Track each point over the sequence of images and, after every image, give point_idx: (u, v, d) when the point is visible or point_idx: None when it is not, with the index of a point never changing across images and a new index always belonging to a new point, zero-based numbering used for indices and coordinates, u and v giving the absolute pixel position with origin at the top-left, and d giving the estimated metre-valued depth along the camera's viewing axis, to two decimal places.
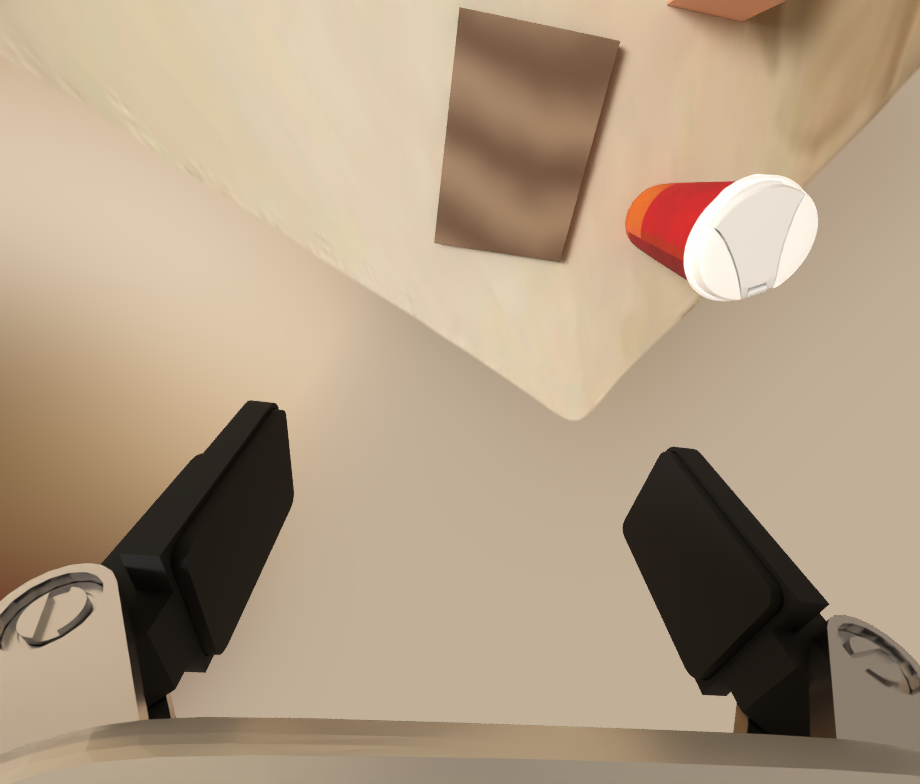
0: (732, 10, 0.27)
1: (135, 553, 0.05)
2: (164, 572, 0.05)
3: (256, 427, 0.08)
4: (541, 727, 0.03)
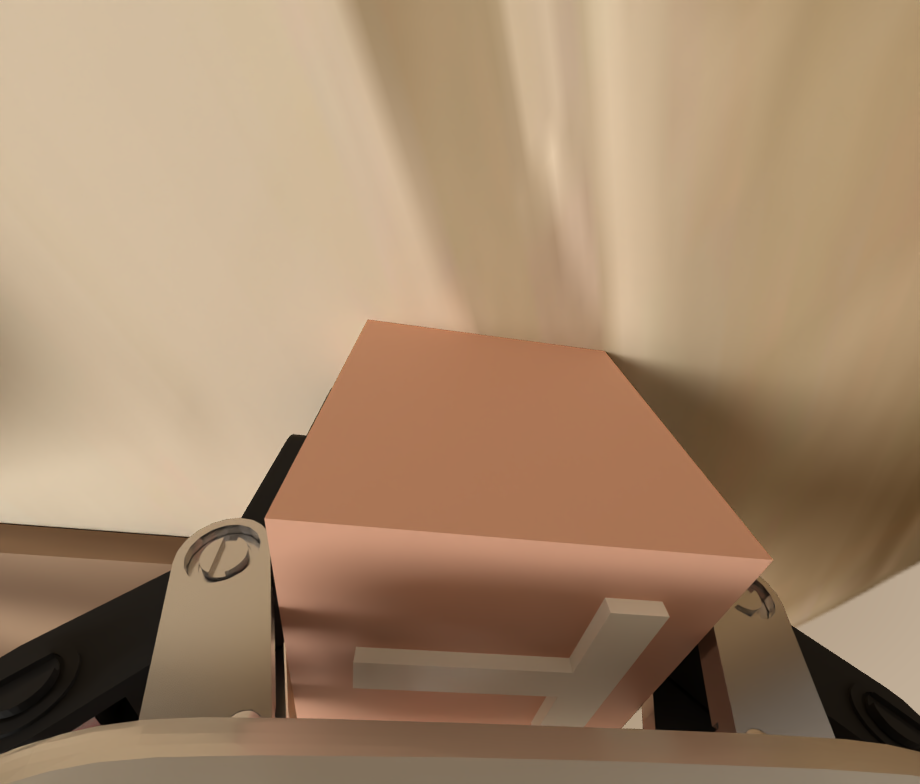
0: None
1: None
2: None
3: None
4: (541, 727, 0.03)
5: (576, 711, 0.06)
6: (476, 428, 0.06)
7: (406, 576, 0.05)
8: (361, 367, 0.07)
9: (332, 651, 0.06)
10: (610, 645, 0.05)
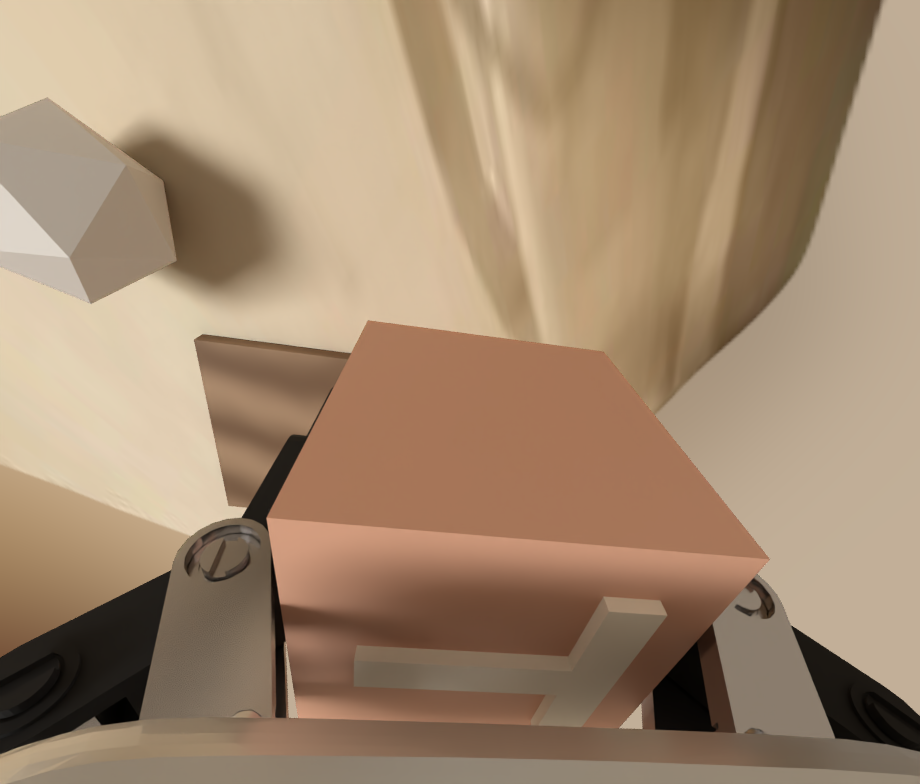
0: None
1: None
2: None
3: None
4: (541, 727, 0.03)
5: (575, 709, 0.06)
6: (476, 429, 0.06)
7: (405, 575, 0.05)
8: (362, 368, 0.07)
9: (332, 650, 0.06)
10: (609, 644, 0.05)
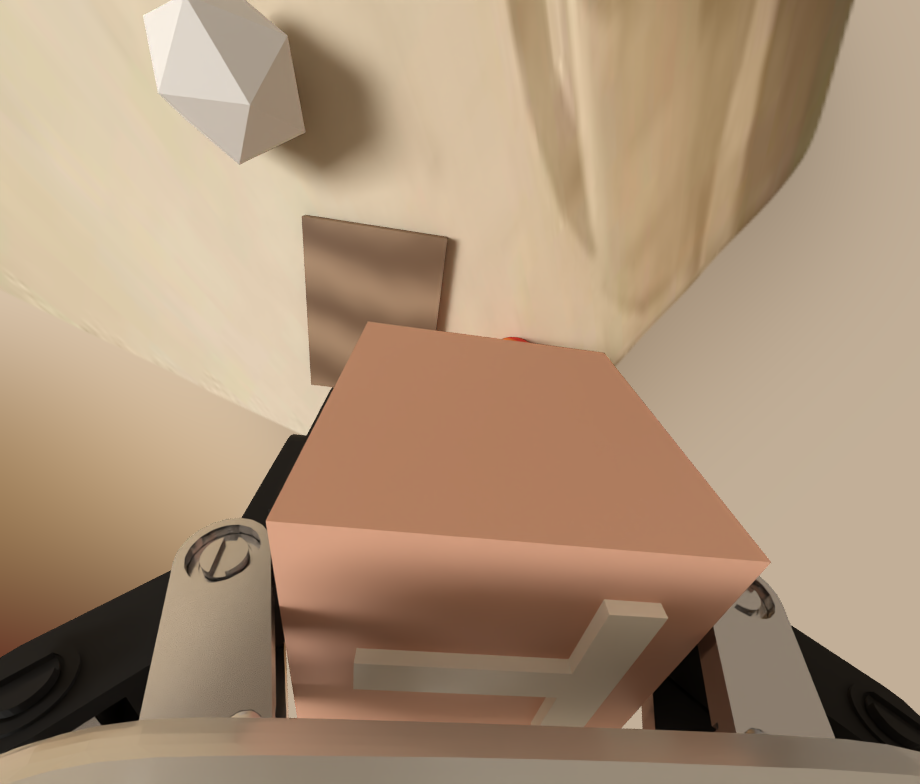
0: None
1: None
2: None
3: None
4: (541, 727, 0.03)
5: (575, 712, 0.06)
6: (476, 430, 0.06)
7: (405, 578, 0.05)
8: (361, 369, 0.07)
9: (331, 653, 0.06)
10: (608, 646, 0.05)
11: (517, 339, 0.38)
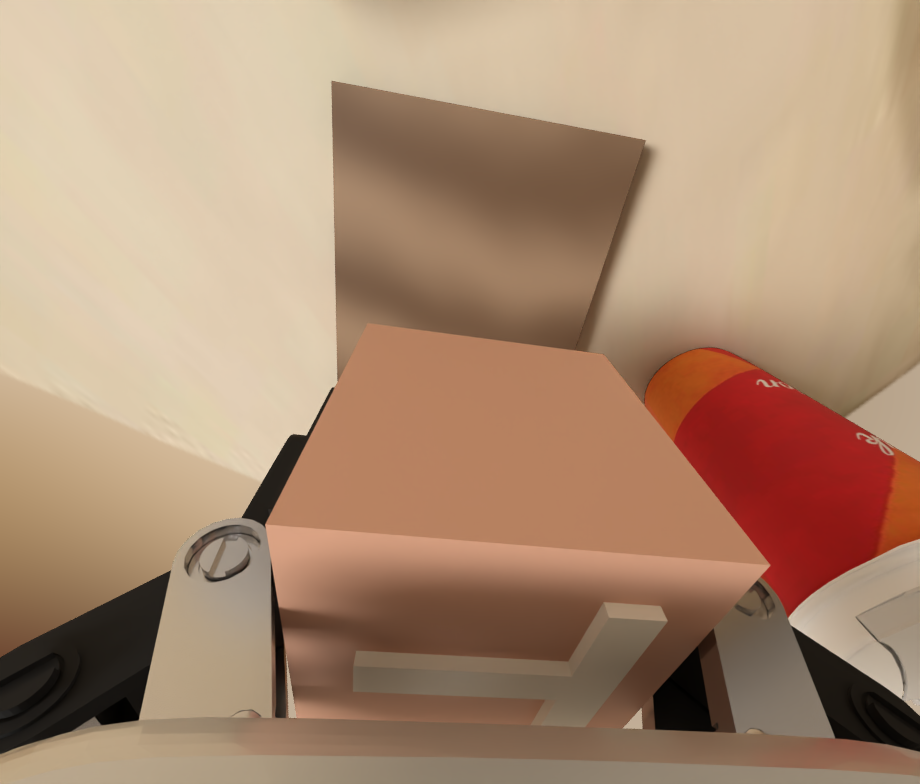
0: None
1: None
2: None
3: None
4: (541, 727, 0.03)
5: (575, 714, 0.06)
6: (476, 433, 0.06)
7: (404, 581, 0.05)
8: (361, 371, 0.07)
9: (331, 655, 0.06)
10: (609, 648, 0.05)
11: (724, 352, 0.20)
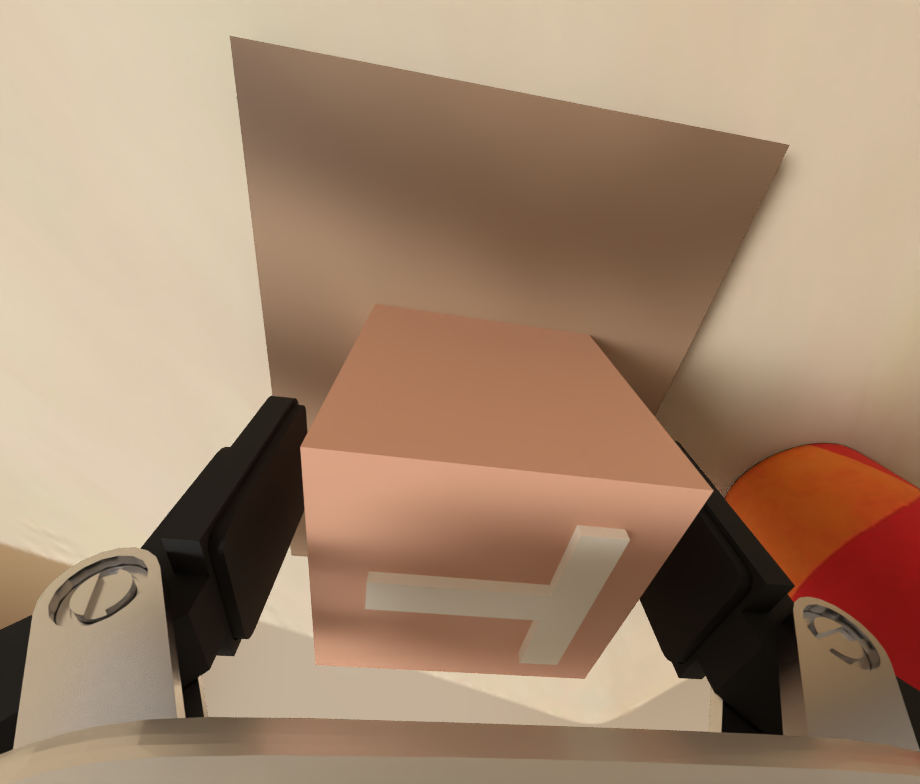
0: None
1: (176, 538, 0.05)
2: (202, 556, 0.06)
3: (280, 421, 0.08)
4: (541, 727, 0.03)
5: (556, 636, 0.07)
6: (472, 390, 0.07)
7: (412, 502, 0.06)
8: (371, 341, 0.08)
9: (347, 575, 0.07)
10: (582, 567, 0.06)
11: (853, 455, 0.14)
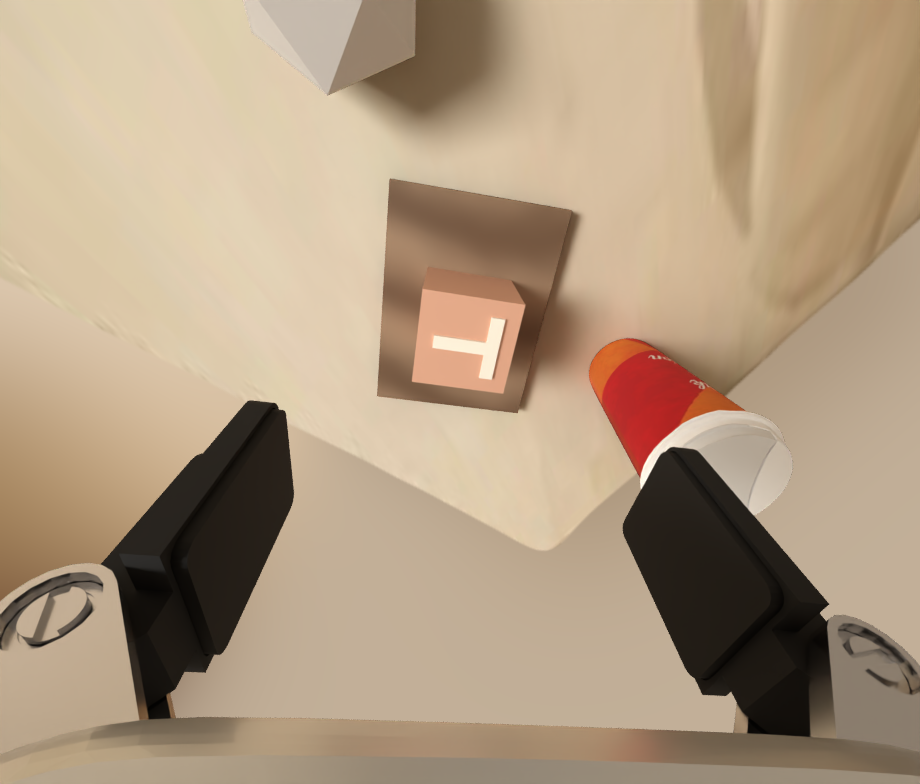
0: None
1: (135, 553, 0.05)
2: (164, 572, 0.05)
3: (256, 427, 0.08)
4: (541, 727, 0.03)
5: (489, 363, 0.24)
6: (463, 286, 0.24)
7: (447, 307, 0.22)
8: (430, 275, 0.25)
9: (427, 336, 0.23)
10: (493, 331, 0.23)
11: (638, 341, 0.30)
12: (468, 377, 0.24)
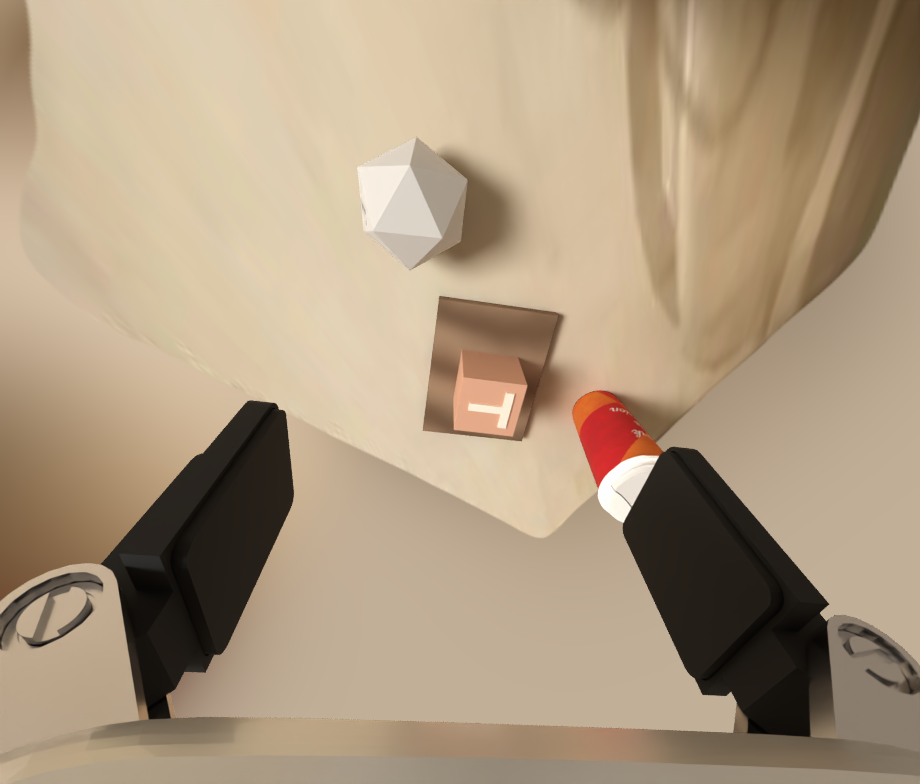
0: None
1: (135, 553, 0.05)
2: (164, 572, 0.05)
3: (256, 427, 0.08)
4: (541, 727, 0.03)
5: (504, 419, 0.37)
6: (487, 370, 0.37)
7: (478, 387, 0.35)
8: (465, 360, 0.38)
9: (465, 403, 0.36)
10: (507, 400, 0.36)
11: (605, 393, 0.43)
12: (490, 427, 0.38)
